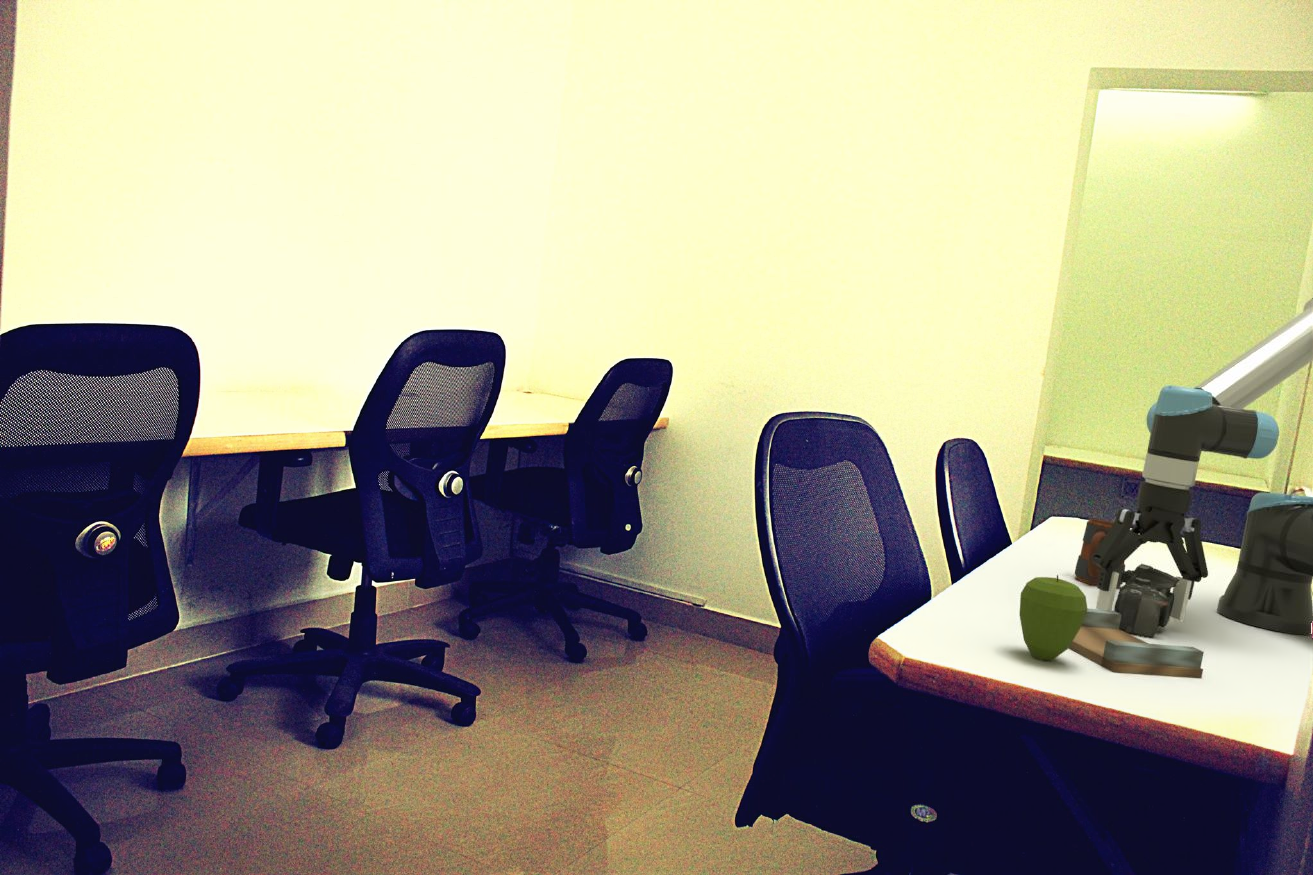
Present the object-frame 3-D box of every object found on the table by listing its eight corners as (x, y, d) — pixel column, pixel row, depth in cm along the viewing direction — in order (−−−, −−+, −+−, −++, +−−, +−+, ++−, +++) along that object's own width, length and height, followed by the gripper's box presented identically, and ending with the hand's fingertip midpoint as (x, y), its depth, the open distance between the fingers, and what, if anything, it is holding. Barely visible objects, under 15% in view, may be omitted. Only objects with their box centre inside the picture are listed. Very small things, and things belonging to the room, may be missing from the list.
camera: (1182, 645, 162) (1195, 581, 161) (1113, 632, 164) (1126, 569, 162) (1159, 623, 175) (1171, 564, 174) (1096, 612, 177) (1107, 553, 175)
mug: (1062, 581, 199) (1073, 520, 198) (1081, 575, 209) (1092, 517, 207) (1109, 593, 194) (1121, 531, 193) (1127, 586, 203) (1138, 527, 202)
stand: (1106, 631, 163) (1110, 609, 162) (1201, 677, 144) (1206, 652, 143) (1027, 625, 159) (1031, 602, 159) (1113, 671, 140) (1118, 646, 140)
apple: (1077, 674, 136) (1093, 587, 135) (1009, 658, 139) (1025, 573, 138) (1075, 657, 145) (1090, 575, 143) (1011, 643, 147) (1026, 562, 146)
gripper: (1214, 488, 173) (1188, 613, 175) (1083, 470, 167) (1057, 601, 169) (1250, 497, 166) (1222, 628, 168) (1114, 479, 160) (1087, 615, 162)
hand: (1139, 614), depth 169 cm, fingers open, 13 cm apart
